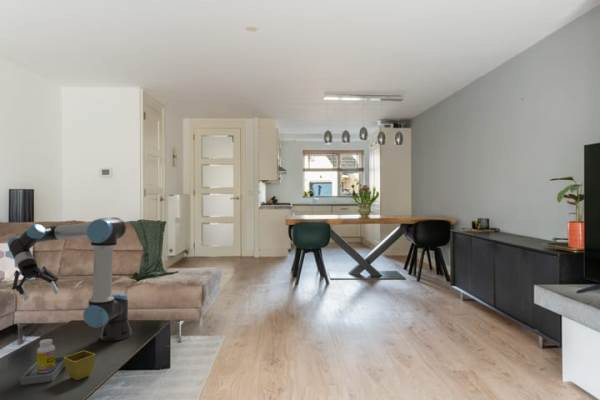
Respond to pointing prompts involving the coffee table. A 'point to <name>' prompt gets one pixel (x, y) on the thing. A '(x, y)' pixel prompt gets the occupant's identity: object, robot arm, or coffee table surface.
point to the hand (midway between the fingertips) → (42, 295)
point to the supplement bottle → (46, 356)
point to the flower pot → (79, 364)
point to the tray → (36, 377)
